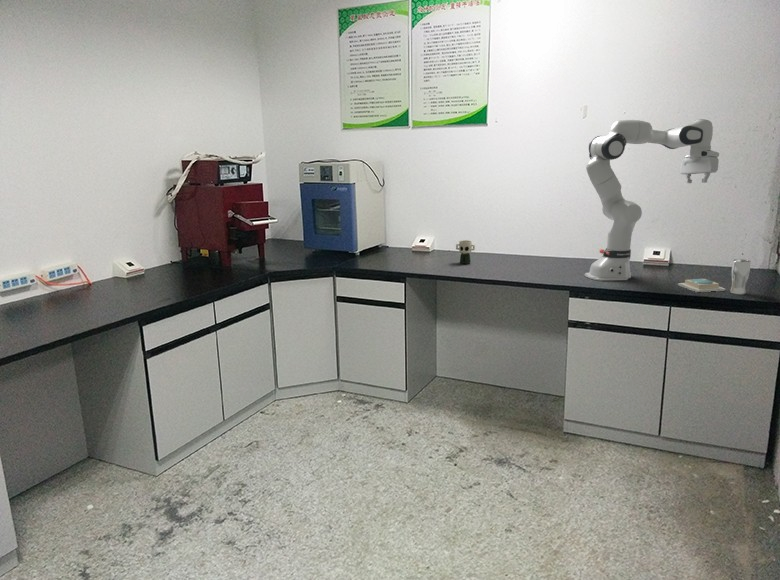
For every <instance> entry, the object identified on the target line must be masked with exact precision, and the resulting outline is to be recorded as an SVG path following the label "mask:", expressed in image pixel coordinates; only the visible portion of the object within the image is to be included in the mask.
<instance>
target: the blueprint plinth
mask: <svg viewBox="0 0 780 580" xmlns="http://www.w3.org/2000/svg"><path fill="white" fill-rule="evenodd" d="M677 286H679V287H682V288H685V289H686V288H687V289H686V290H689V291H692V292H694V291H695V293H697V292H701V293H712V292H711V291H716V292H725V291H726V288H724V287H722V286H720V283H718V282H715V281H712V280H710V279H706V278H693V279H685V280H684V282H679V283H677Z"/></svg>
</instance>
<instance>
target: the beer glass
mask: <svg viewBox="0 0 780 580" xmlns="http://www.w3.org/2000/svg"><path fill="white" fill-rule="evenodd" d="M750 271H751V260H749V259H745V258H744V259H742V258H735V259H733V261H732V266H731V287H730V290H729V293H730V294H732V295H736V296H737V295H738V296H739V295H740V296H742V295H746V292H747V291H746V285H747V281H748V280H749V277H750Z"/></svg>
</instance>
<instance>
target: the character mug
mask: <svg viewBox="0 0 780 580" xmlns="http://www.w3.org/2000/svg"><path fill="white" fill-rule="evenodd" d="M472 242H473V241H472V240H467V239H466V240H460V241H459V242H458V243H456V244H455V248H456V250H458V251H459V253H461V254H460V258H459V264H465V265H468V264H470V263H471V254H470V253H471V252H472V251H475V249H476V248H475V247H476V246H475V245H476V244H472Z"/></svg>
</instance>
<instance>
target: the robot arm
mask: <svg viewBox="0 0 780 580" xmlns="http://www.w3.org/2000/svg"><path fill="white" fill-rule="evenodd" d="M713 129H714V126H713V123H712V121H711V120H708V119H703V118H702V119H701V118H700V119H696V120H695V121H693V122H691V123H689V124H687V125H683V126H679V127H675V128H674V127H673V128H669V129H666V130H659V129H658V130H656V129H653V126H652V124H651V123H650V122H648V121H644V120H640V119H639V120H638V119H622V120H617V121H615V122H613V124H612V125H611V127H610V131H609V133H608V135H597V136H595V137H593V138H592V139H591V140H590V141H589V144H588V153H589V154H588V155H589V159H590V160H589V161H588V162H587V164H586V165H585V166H586V169H585V170H586V172H587V175H588V178H589V180H590V182H591V184H592V186H593V188H594V190H595V191H596V193H597V195H598V196H599V199H600V201H601V206H602V208H601V209H602V211H601V212H602V214H603V215H604V216H605V217H606V218H607V219H609V220H610V221H613V223H612V227H611V229H610V230H609V232H608V233H607V240H606V248H605V250H604V249H602V248H600V249H599V254H602V256H601V257H600V258H598V259H597V260H595V261H593V262H592V263H591V265H590V267H589V272H585V273H584V276H585V277H586V278H588V279H590V280H593V281H628V280H629V279H631V278H632V273H631V267H630V260H631V254H632V252H631V251H632V249H631V243H632V235H633V231H634V228H635V226H636V224H637V222H639V220H640V219H641V218H642V215H643V212H642V211H643V210H642V208H641V206H640V205H639V204H637V203H636V202H634V201H632V200H627V199H625V198H624V197H623V195H622V184H621V183H620V181H619V179H618V177H617V175H616V174H615V171H614V170H613V168H612V166H611V161H612V160H617V159H618V158H620V157H621V156H622V155H623V153H624V151H625V149H626V145H627V144H630V145H631V144H632V145H641V144H642V145H643V144H647V143H650V144H658V145H661V146H664V147H665V148H667V149H669V150H675V149H679V148H683V147H688V146H690V150H689V155H685V156H684V157H683V158H682V161H681V164H680V168H679V173H680V175H685V178H686V184H692V182H693V179H692V178H691V177H692V175H697V174H698V175H699V174H703V175H704V177H703V178H701V183H704V184H705V183H707V182H708V179H709V177H711V174H712V173H713V174H714V173H717V171H718V170H719V156H720V152H717V151H714V150H713V149H712V144H711V143H712V140H713V131H714V130H713Z"/></svg>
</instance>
